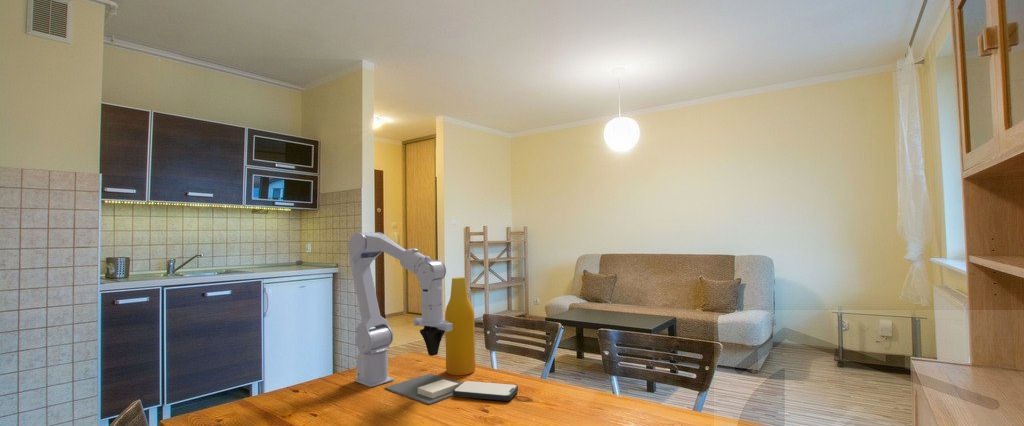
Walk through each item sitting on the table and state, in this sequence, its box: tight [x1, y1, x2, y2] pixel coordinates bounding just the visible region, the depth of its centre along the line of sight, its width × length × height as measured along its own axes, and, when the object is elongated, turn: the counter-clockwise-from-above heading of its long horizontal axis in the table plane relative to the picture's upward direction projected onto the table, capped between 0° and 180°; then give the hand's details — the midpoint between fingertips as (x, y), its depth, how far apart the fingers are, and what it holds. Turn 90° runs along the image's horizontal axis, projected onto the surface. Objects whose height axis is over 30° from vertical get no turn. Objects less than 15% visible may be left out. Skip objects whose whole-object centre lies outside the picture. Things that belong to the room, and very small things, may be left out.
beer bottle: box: [444, 276, 477, 376], centre depth 144 cm, size 9×9×29 cm
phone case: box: [453, 380, 519, 402], centre depth 122 cm, size 9×2×16 cm
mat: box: [384, 372, 463, 406], centre depth 128 cm, size 20×16×1 cm
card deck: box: [418, 379, 459, 399], centre depth 124 cm, size 2×9×6 cm
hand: (433, 354), depth 125 cm, fingers closed
